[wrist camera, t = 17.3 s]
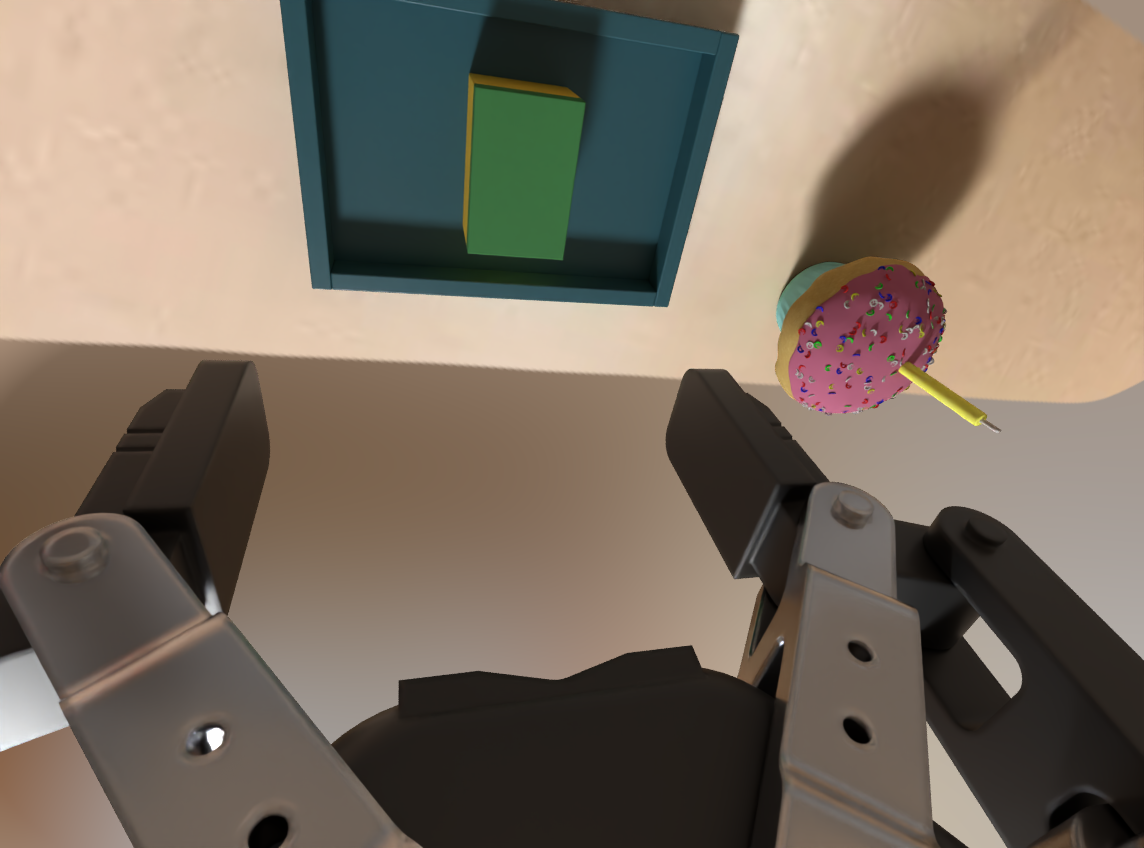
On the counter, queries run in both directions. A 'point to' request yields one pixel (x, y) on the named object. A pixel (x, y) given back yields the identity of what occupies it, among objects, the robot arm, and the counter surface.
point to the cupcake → (862, 337)
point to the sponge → (519, 166)
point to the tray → (438, 141)
